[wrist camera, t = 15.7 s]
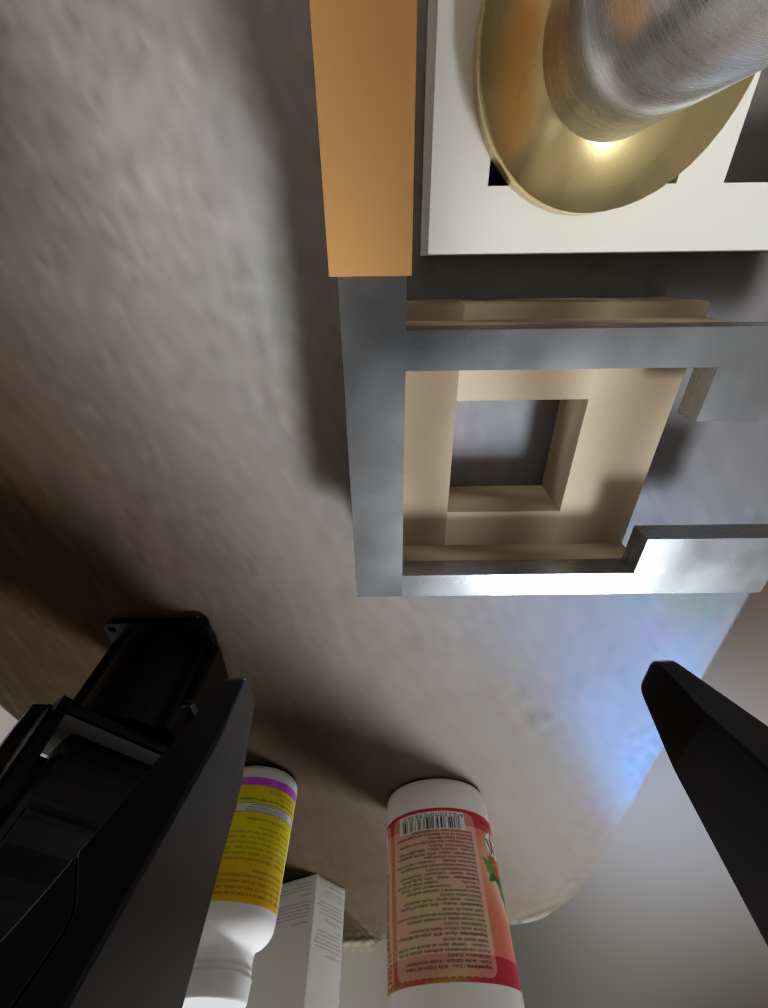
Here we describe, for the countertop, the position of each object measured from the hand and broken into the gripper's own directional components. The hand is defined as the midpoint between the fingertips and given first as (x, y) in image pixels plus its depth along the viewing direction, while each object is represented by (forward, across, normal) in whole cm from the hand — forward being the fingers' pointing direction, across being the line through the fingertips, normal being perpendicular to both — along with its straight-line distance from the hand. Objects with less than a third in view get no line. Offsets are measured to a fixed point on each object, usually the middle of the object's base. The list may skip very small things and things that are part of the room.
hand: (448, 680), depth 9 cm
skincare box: (+14, +13, +59) cm, 62 cm away
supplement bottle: (+14, +13, +32) cm, 37 cm away
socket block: (+12, -4, -1) cm, 13 cm away
